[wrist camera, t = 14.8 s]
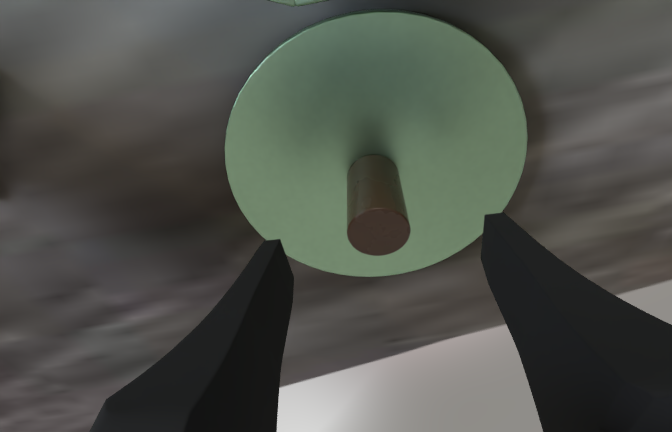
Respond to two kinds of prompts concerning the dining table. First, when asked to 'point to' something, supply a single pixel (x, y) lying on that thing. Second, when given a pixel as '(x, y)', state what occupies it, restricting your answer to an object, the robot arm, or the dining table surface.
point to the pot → (297, 2)
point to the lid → (375, 142)
